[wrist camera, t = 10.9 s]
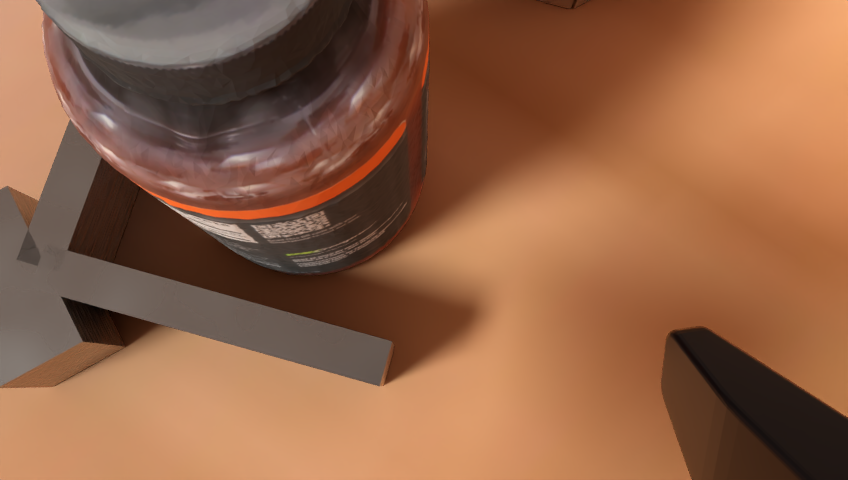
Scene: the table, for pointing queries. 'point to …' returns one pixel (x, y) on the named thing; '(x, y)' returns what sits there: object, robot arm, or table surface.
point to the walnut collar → (565, 3)
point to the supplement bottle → (256, 115)
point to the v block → (126, 287)
